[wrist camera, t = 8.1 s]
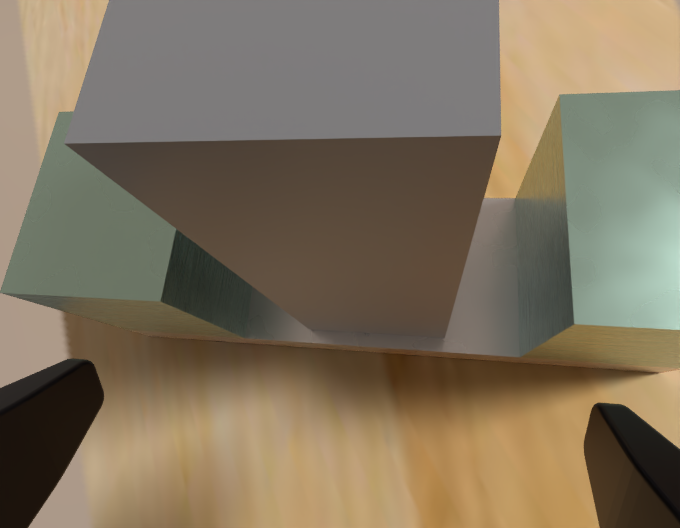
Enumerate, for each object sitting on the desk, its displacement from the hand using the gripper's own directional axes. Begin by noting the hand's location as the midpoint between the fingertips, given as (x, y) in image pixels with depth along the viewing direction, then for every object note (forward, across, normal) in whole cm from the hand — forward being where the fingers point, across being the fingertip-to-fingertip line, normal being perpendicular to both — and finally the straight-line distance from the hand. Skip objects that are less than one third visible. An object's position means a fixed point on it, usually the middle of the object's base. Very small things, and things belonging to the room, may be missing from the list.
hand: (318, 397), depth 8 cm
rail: (+11, 0, +3) cm, 11 cm away
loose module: (+10, 0, +2) cm, 10 cm away
